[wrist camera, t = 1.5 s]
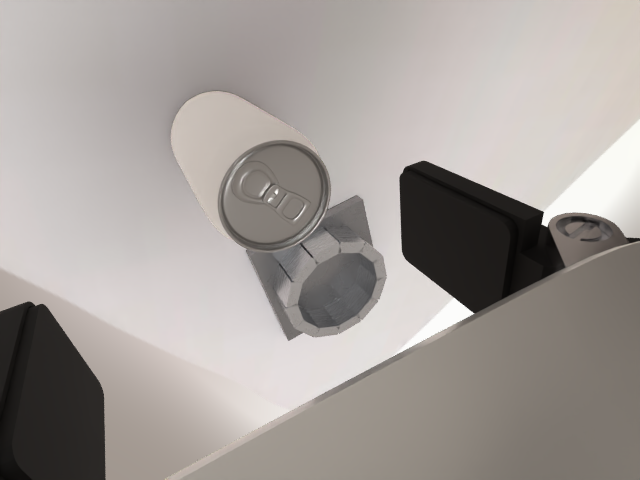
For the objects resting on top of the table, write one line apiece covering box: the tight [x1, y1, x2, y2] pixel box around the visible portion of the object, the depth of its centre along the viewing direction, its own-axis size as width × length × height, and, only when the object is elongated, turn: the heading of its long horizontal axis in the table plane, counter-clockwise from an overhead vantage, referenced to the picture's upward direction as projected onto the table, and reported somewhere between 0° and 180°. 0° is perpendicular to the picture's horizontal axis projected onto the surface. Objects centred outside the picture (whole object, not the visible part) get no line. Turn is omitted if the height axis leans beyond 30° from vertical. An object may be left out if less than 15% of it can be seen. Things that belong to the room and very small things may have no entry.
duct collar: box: [246, 196, 387, 341], centre depth 36 cm, size 11×11×4 cm
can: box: [171, 91, 331, 253], centre depth 23 cm, size 6×6×12 cm
